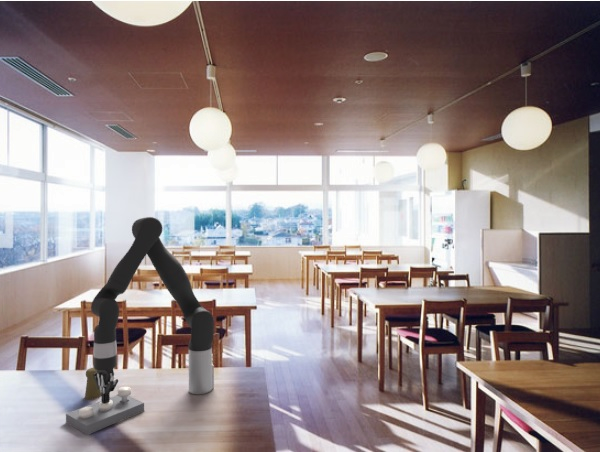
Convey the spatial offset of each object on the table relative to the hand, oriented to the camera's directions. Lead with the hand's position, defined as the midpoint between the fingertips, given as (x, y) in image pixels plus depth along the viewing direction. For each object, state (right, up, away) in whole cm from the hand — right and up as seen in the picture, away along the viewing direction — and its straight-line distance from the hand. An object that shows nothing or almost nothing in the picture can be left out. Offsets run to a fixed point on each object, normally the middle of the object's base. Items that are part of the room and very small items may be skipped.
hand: (105, 402), depth 152 cm
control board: (0, -5, 0) cm, 5 cm away
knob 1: (-4, -5, -5) cm, 8 cm away
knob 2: (+4, -2, +6) cm, 7 cm away
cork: (-12, -5, +17) cm, 21 cm away
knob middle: (0, -5, 0) cm, 5 cm away
